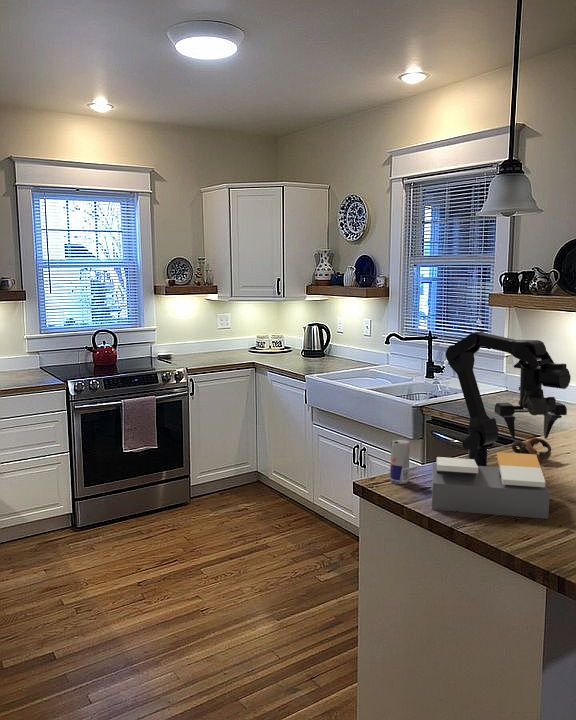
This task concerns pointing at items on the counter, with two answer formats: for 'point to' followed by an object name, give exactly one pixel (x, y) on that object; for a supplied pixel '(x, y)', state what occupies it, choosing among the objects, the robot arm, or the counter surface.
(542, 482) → the orange and white panel
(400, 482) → the energy drink
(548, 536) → the counter surface
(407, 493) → the counter surface
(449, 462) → the rocker plain
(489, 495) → the switch strip
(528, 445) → the brown chain link decor
